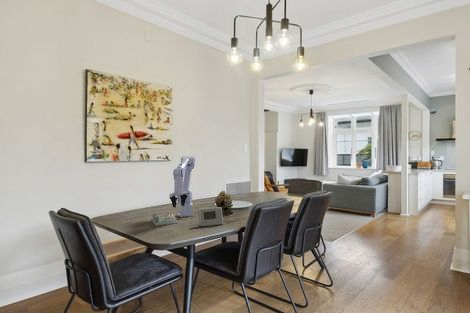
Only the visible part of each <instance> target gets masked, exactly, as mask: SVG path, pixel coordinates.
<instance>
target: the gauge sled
mask: <svg viewBox="0 0 470 313" xmlns="http://www.w3.org/2000/svg"><path fill="white" fill-rule="evenodd" d="M165 217H166V219H172V218H176V215H175V214H172V213H170V214H168V216H165Z"/></svg>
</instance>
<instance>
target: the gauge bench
mask: <svg viewBox="0 0 470 313" xmlns="http://www.w3.org/2000/svg"><path fill="white" fill-rule="evenodd" d="M166 217H167V216H162V217H161V216H160V217H159V215H158V214H157V213H153V214H152V223H153V224H154V225H155V226H160V225H161V226H162V225H171V224H178V223H179V222H178V220H177V217H175V218H172V219H166Z"/></svg>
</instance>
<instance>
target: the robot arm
mask: <svg viewBox="0 0 470 313" xmlns="http://www.w3.org/2000/svg"><path fill="white" fill-rule="evenodd" d="M195 165H196V158H195V156H192V155H191V156H187V155H186V156H184V155H182V156H181V157H180V163H179V164H178V165H177V167H175V168H174V169H173V171H172V172H173V173H172V174H173V181H174V187H173V188H174V192H172V193H169V199H170V202H171V205H172V208H177V203H178V204H179V213H177V216H178V217H180V218H183V217H191V216H193V217H194V205H193V202H192V201H193V193H192V191H191V190H190V184H191V177H192V171H193V169H195Z"/></svg>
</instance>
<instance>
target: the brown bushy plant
mask: <svg viewBox="0 0 470 313" xmlns="http://www.w3.org/2000/svg"><path fill="white" fill-rule="evenodd" d="M214 202H215V203H214V204H215V207H221V208H222V215H231V214H233V213H234V211H232V209H231V208H232V207H233V206H234V204H233V200H232V198H231V194H230V193H226V191H225V190H221V191H220V192H219V194H217V196H216V197H215V199H214Z"/></svg>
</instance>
